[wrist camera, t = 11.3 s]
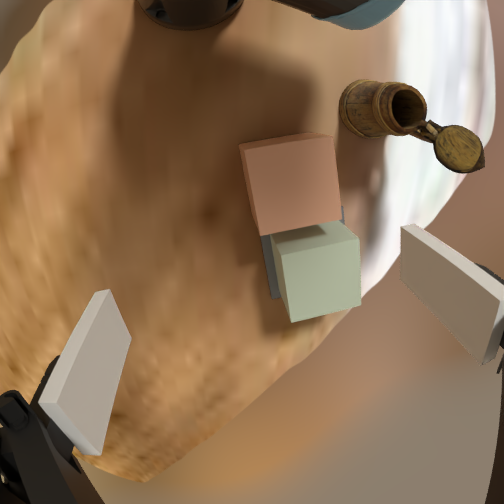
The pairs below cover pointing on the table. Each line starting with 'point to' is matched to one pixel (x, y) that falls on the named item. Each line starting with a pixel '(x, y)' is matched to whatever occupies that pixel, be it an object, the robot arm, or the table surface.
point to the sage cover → (317, 269)
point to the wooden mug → (407, 122)
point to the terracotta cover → (291, 181)
